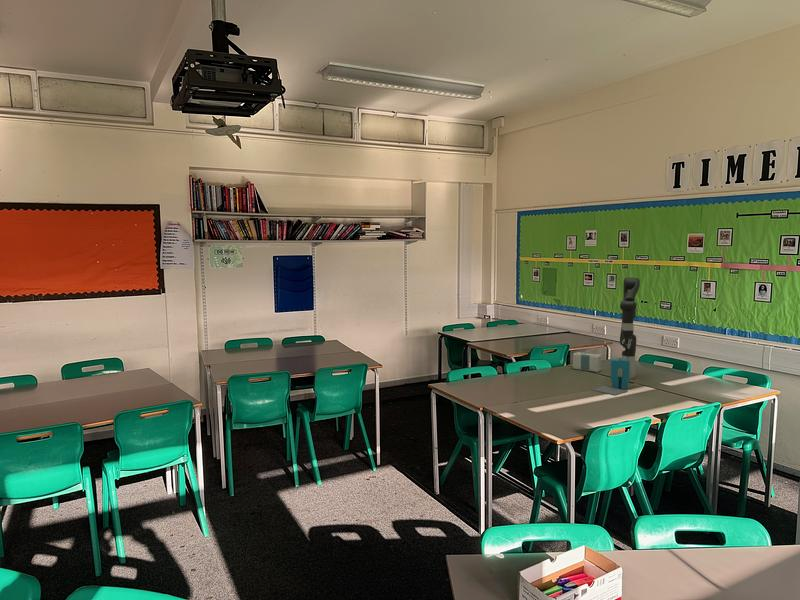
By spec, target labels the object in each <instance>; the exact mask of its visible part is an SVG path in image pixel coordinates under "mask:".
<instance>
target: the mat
mask: <svg viewBox="0 0 800 600" xmlns="http://www.w3.org/2000/svg"><path fill="white" fill-rule="evenodd" d="M591 391H594V392H598V393H602V394H606V395H611V396H619V395H623V394H625V393H627V392H629V390H627V389H620V388H618V389H617V388H613V386H607V385H603V386H599V387H596V388H592V389H591Z"/></svg>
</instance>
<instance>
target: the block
mask: <svg viewBox="0 0 800 600" xmlns="http://www.w3.org/2000/svg"><path fill="white" fill-rule="evenodd" d="M620 369H621V374H622V377H621V376H618V373H619V372H618V370H620ZM629 369H630V360H626V359H622V358H619V359H618V358H610V381H611V385H612V387H613V388H617V389H620V388H621V389H622V390H627V389H628V385H629V382H630V379H629Z"/></svg>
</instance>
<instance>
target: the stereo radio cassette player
mask: <svg viewBox="0 0 800 600" xmlns="http://www.w3.org/2000/svg"><path fill="white" fill-rule="evenodd" d="M598 347H599V348H600V346H598ZM595 349H596V347H594V348H591V349H589V350H587V351H584V352H579V351H577V352H576V351H575V352H574V353H572V368H573V369H574V370H580V371H588V372H596V373H599V372H600V371H601V368H602V354H597V353H589V351H593V350H595ZM587 352H588V353H587Z"/></svg>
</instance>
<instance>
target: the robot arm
mask: <svg viewBox="0 0 800 600" xmlns="http://www.w3.org/2000/svg"><path fill="white" fill-rule="evenodd" d="M640 286H641V280H640V278H638V277H624V279H623V286H622V288H623V298H622V301H620V305H619V309H620V310H621V314H622V315H621V328H620V335H619V344H620V345H621V346H622V347H623V348H624V350H623V351H622V352H621V359H626V360H630V369H629V380H635V379H636V352H637V336H636V335H635V334H634V328H635V327H634V326H635V325H634V320H635V319H636V313H637V312H636V310H637V303H636V296H637V293H638V292H639V289H640ZM620 377H622V373H621V376H620Z"/></svg>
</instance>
